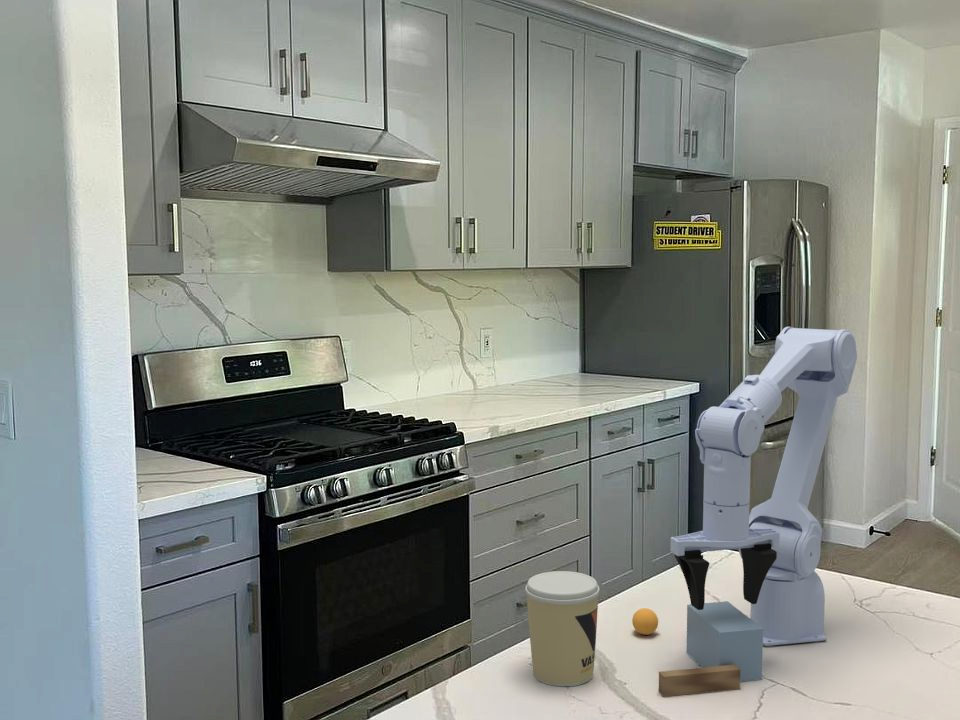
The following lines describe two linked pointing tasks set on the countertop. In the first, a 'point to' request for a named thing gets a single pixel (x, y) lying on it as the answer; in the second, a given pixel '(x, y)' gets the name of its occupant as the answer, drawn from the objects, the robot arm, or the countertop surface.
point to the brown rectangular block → (699, 680)
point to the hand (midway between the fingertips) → (723, 604)
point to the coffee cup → (562, 626)
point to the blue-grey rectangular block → (725, 639)
